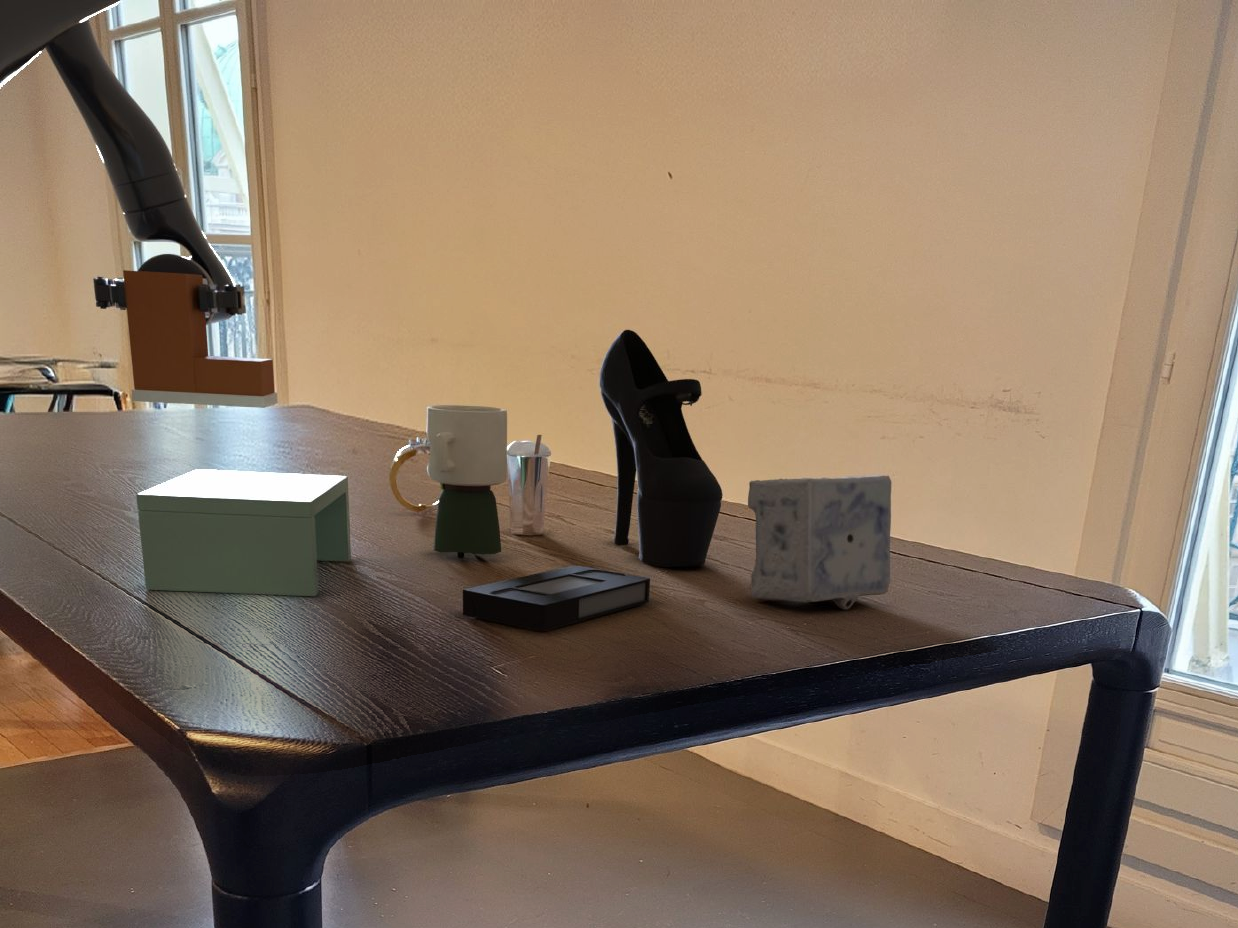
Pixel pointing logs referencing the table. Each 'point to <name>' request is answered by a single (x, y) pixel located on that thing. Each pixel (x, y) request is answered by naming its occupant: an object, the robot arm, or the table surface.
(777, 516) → the incense holder
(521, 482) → the milkshake
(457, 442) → the character mug
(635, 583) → the vhs tape
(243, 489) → the shoe shelf
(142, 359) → the ankle boot
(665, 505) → the high-heeled shoe
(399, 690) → the table surface
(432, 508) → the ring
